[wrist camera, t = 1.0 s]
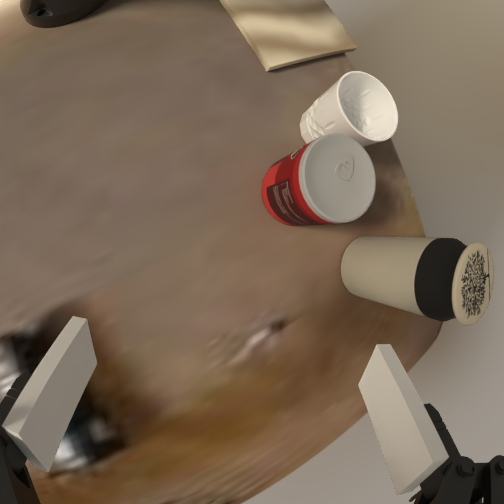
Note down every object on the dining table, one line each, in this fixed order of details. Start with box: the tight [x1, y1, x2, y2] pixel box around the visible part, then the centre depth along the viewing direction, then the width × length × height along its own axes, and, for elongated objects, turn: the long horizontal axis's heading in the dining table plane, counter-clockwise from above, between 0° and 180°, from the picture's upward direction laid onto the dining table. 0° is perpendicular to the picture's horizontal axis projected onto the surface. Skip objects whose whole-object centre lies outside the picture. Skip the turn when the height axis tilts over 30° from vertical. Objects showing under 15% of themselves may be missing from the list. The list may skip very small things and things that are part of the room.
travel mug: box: [341, 236, 494, 326], centre depth 30 cm, size 8×8×18 cm
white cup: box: [300, 71, 398, 147], centre depth 31 cm, size 8×8×10 cm
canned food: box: [262, 133, 376, 226], centre depth 30 cm, size 8×8×11 cm
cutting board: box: [219, 0, 357, 71], centre depth 33 cm, size 18×16×1 cm
